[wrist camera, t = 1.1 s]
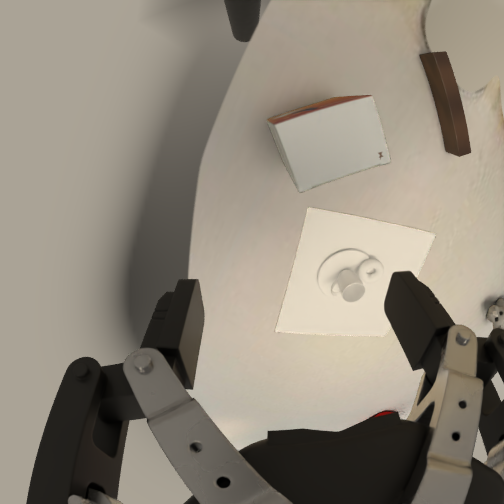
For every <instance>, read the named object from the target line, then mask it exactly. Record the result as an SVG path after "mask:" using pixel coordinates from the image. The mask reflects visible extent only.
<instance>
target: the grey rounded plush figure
mask: <svg viewBox="0 0 504 504" xmlns="http://www.w3.org/2000/svg"><path fill="white" fill-rule="evenodd" d="M487 319H488V320H489V321H491V322H492V323H493V329H495V328H501V329H504V299H503V298H500V299H499V300H498V301H497V302H496V305H493V306H491V307H490V308H489V311H488V314H487Z"/></svg>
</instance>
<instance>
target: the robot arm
mask: <svg viewBox="0 0 504 504" xmlns="http://www.w3.org/2000/svg"><path fill="white" fill-rule="evenodd" d="M384 311H385V314H386V316H387V318H388V320H389V322H390V324H391V326H392V328H393V330H394V332H395V334H396V336H397V338H398V340H399V342H400V344H401V346H402V348H403V350H404V352H405V354H406V357H407V359H408V361H409V363H410V365H411V367H412V370H413V371H414V370H418V369H422V368H423V369H424V371H425V372H424V374H423V375H422V377H421V381H420V385H419V388H418V391H417V395H416V398H415V401H414V404H413V407H412V410H411V412H410V414H409V416H408V418H407V419H406V420H403V419H400V417H399V414H398V411H397V412H394V413H390V414H386V415H382V416H377V417H373V418H369V419H367V420H365V421H363V422H361V423H358V424H356V425H354V426H352V427H349V428H347V429H345V430H342V431H339V432H332V431H320V430H310V429H293V430H279V431H268V437H267V439H265V440H261V441H258V442H256V443H253V444H251V445H249V446H247V447H245V448H243V449H241V450H240V451H237V450H236V449H235V447H234V446H233V445H232V444H231V443H230V442H229V440H228V439H227V438H226V437H225V436H224V434H223V433H222V432H221V431H220V430H219V428H218V427H217V426H216V425H215V423H214V422H213V421H212V420H211V418H210V417H209V416H208V415H207V413H206V412H205V411H204V409H203V408H202V407H201V405H200V404H199V403H198V402H197V401H196V400H195V399H194V398H193V399H192V398H191V396H190V395H189V394H188V392H187V391H186V389H192V390H193V386H194V380H195V374H196V367H197V361H198V355H199V350H200V344H201V338H202V332H203V327H204V307H203V301H202V296H201V290H200V284H199V280H198V279H179V280H178V283H177V286H176V288H175V291H174V292H166V293H165V294H164V295H163V296H162V297H161V298H160V299H159V300H158V303H157V305H156V308H155V312H154V313H153V316H152V319H151V321H150V323H149V326H148V328H147V331H146V334H145V336H144V339H143V342H142V345H141V347H140V349H137V350H135V351H133V352H132V353H130V354H129V355H128V356H127V358H126V359H125V361H124V363H120V364H115V365H109V366H102V367H101V366H100V365H99V363H98V362H97V361H96V360H95V359H93V358H91V357H82V358H79V359H77V360H75V361H74V362H72V363H71V364H70V365H69V367H68V368H67V370H66V373H65V375H64V377H63V380H62V382H61V385H60V387H59V390H58V392H57V395H56V398H55V400H54V403H53V406H52V409H51V411H50V414H49V417H48V420H47V423H46V426H45V429H44V432H43V436H42V439H41V442H40V446H39V449H38V453H37V457H36V460H35V464H34V468H33V472H32V477H31V482H30V487H29V492H28V498H27V503H26V504H123V503H121V502H120V501H119V500H117V495H118V487H119V479H120V472H121V465H122V458H123V453H124V447H125V441H126V436H127V430H128V425H129V420H135V419H142V418H147V423H148V426H149V427H150V429H151V431H152V433H153V435H154V436H155V438H156V440H157V441H158V443H159V445H160V447H161V448H162V450H163V451H164V453H165V454H166V456H167V458H168V459H169V461H170V462H171V464H172V465H173V467H174V468H175V470H176V471H177V473H178V474H179V476H180V477H181V479H182V480H183V482H184V483H185V484H186V486H187V487H188V488H189V490H190V491H191V492H192V494H193V496H191V498H189V499H188V500H187V501H186V502H185V503H184V504H504V400H503V401H502V402H501V400H500V398H499V396H498V393H497V391H496V389H495V387H494V385H493V383H492V381H491V379H492V378H493V377H494V375H495V374H496V373H497V372H498V373H499V375H500V377H501V378H502V381H503V382H504V329H501V328H495V329H493V330H492V332H491V333H490V335H489V337H488V338H482V337H476V335H475V333H474V332H473V331H472V330H471V329H469V328H468V327H466V326H464V325H455V323H454V322H453V320H452V319H451V317H450V316H449V314H448V313H447V312H446V310H445V309H444V307H443V306H442V305H441V304H440V303H439V301H438V299H437V298H436V297H435V295H434V294H433V293H432V291H431V290H430V289H429V287H427V286H426V285H424V284H423V283H422V282H420V281H418V279H417V278H416V277H415V276H414V274H413V273H412V272H411V271H398V272H394V273H393V274H392V276H391V280H390V283H389V287H388V290H387V293H386V297H385V300H384ZM478 427H479V430H480V433H481V436H482V439H483V443H484V445H485V449H486V452H487V456H488V458H487V461H486V462H485V463H484V464H483V463H481V462H480V461H479V460H477V459H475V458H474V457H472V455H473V451H474V447H475V442H476V437H477V432H478Z"/></svg>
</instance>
